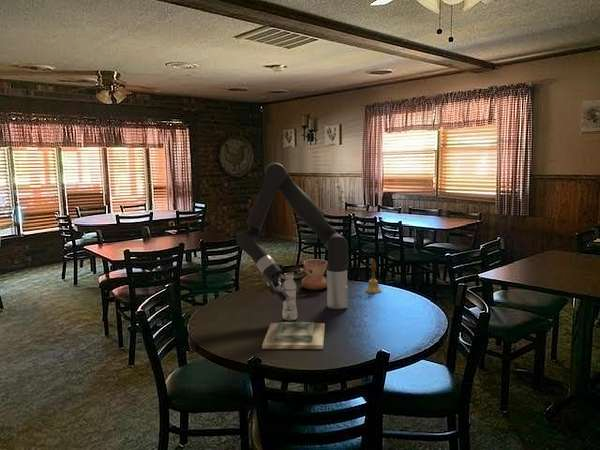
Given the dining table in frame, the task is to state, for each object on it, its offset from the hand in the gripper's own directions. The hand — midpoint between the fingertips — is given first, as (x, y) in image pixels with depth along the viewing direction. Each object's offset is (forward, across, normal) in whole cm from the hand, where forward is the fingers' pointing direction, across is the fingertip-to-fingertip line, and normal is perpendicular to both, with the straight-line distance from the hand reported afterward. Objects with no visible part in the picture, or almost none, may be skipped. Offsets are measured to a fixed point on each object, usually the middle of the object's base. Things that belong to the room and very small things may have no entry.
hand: (291, 297), depth 199 cm
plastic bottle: (+6, 0, +8) cm, 10 cm away
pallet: (+15, -14, -1) cm, 21 cm away
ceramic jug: (-5, +46, +19) cm, 50 cm away
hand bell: (+15, +55, 0) cm, 57 cm away
